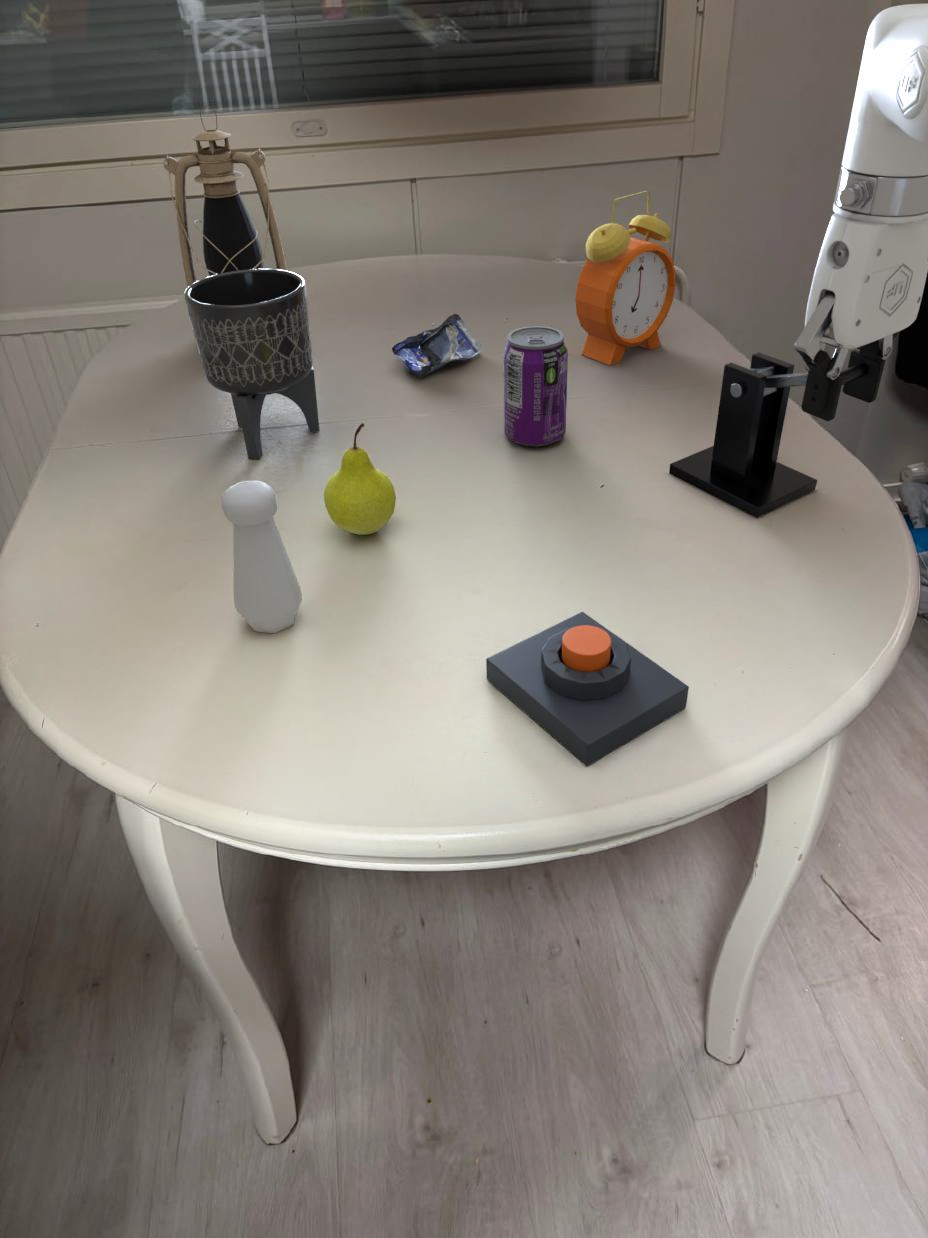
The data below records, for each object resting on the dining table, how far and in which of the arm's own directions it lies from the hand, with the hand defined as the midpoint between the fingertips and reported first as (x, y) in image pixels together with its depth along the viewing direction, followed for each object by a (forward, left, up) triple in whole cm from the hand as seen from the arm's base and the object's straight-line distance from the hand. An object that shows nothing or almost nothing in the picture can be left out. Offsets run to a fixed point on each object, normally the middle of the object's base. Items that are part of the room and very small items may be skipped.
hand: (838, 404), depth 84 cm
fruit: (+26, +36, -12) cm, 46 cm away
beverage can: (+31, +10, -12) cm, 35 cm away
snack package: (+57, +6, -12) cm, 59 cm away
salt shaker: (+18, +50, -12) cm, 55 cm away
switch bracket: (+9, 0, -12) cm, 15 cm away
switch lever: (+5, 0, 0) cm, 5 cm away
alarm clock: (+44, -16, -12) cm, 49 cm away
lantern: (+86, +21, -12) cm, 90 cm away
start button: (-6, +35, -8) cm, 36 cm away
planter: (+51, +34, -12) cm, 63 cm away
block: (-6, +35, -12) cm, 37 cm away
